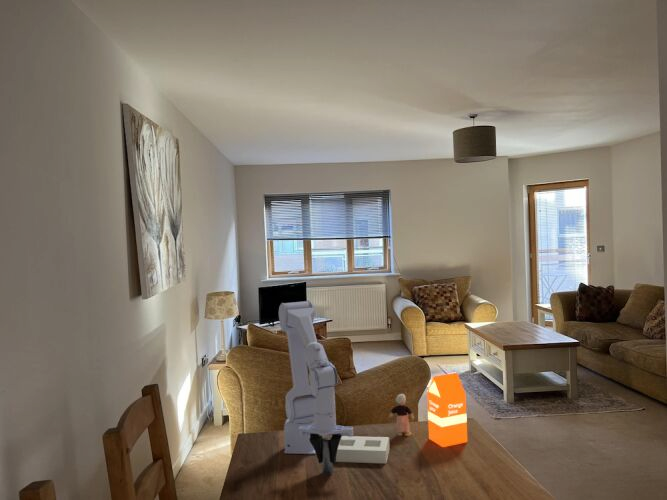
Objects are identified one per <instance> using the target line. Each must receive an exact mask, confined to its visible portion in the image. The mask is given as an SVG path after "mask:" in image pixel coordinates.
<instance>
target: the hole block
mask: <svg viewBox="0 0 667 500" xmlns="http://www.w3.org/2000/svg"><path fill="white" fill-rule="evenodd" d="M389 453H390V437H388V436H355V435H353V436H352V437H348V436H342V437H341V440H340V443H339V446H338V449H337V454H336V462H335V463H337V462H338V463H362V464H365V463H366V464H387V462H388V458H389Z"/></svg>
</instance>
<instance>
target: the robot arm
mask: <svg viewBox="0 0 667 500" xmlns="http://www.w3.org/2000/svg"><path fill="white" fill-rule="evenodd" d="M315 309H316V308H315V306H314V303H313V302H312V301H311V300H306V301H305V300H304V301H296V302H295V301H294V302H293V301H292V302H285V303H284V302H281V303H280V305H279V308H278V319H279V327H280V330H281V331H282V332H284V333H286V338H287V345H288V346H287V347H288V353H289V361H290V362H289V364H290V369H291V378H292V385H293V386H292V388H291V389H290V390H289V391H288V392H287V393H286V394H285V398H284V399H285V406H284V407H285V413H286V417H287V419H286V420H285V422H284V426H283V436H284V438H283V439H284V451H283V452H284V454H295V455H296V454H298V455H302V454H303V455H315V454H316V458H317V461H318V464H322V458H321V438H323V437H326V436H331V437H330V438H331V439H330V443H331V451H332V464H333V465H334V464H335V463H337V462H336V454H337V449H338V446H339V443H340V440H341V437H342V436H348V437H352V436H354V427H353V426H344V425H339V424H338V425H337V416H336V415H337V414H336V395H335V394H336V392H335V389H336V388H335V387H337V385H338V382H339V381H338V378H339V376H338V372H337V369H336V367H335V365H334V364H333V363H332V362H331V361H329V358H328V356H327V353H326V351H325V348H324V345H323V343H320V342H318V339H317V336H316V335H317V334H316V332H315V328H314V322H315V321H314V319H315V314H316V312H315ZM308 370H309V373H308Z"/></svg>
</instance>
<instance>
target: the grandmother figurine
mask: <svg viewBox="0 0 667 500" xmlns="http://www.w3.org/2000/svg"><path fill="white" fill-rule="evenodd" d="M406 401H407V397H406V395H405V394H404V393H400V394H398V395H397V396H396V398H395V402H396V403H397V404H398V405H396V406H394V407H393V408H392V409H391V410H390V414H389V417H390V418H393V417H394V415H395V414H396V430H397V436H398V437H400V436H403V435H404V436H405V437H406V436H407V437H409V436H411V435H412V432H411V431H410V422H409V421H410V420H409V417H410V419H411V420H414V419H415V416H414V414H413V411H412V409H410V407H409V406H406V405H405V404H406Z"/></svg>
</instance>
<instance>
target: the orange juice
mask: <svg viewBox="0 0 667 500" xmlns="http://www.w3.org/2000/svg"><path fill="white" fill-rule="evenodd" d="M426 392H427V393H426V396H427V397H426V398H427V420H428V421H427V422H428V439H429V440H430V441H432V442H434V443H435V444H437V445H439V447H442V448H447V447H451V446H455V445H459V444H464V443H468V419H467V416H468V415H467V395H466V392H465V388H464V387H463V384H462V381H461V378H460V376H459V374H458V372H453V373H448V374H441V375H440V374H439V375H435V376H432V378H431V382H430V383H429V387H428V389H427V391H426Z"/></svg>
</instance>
